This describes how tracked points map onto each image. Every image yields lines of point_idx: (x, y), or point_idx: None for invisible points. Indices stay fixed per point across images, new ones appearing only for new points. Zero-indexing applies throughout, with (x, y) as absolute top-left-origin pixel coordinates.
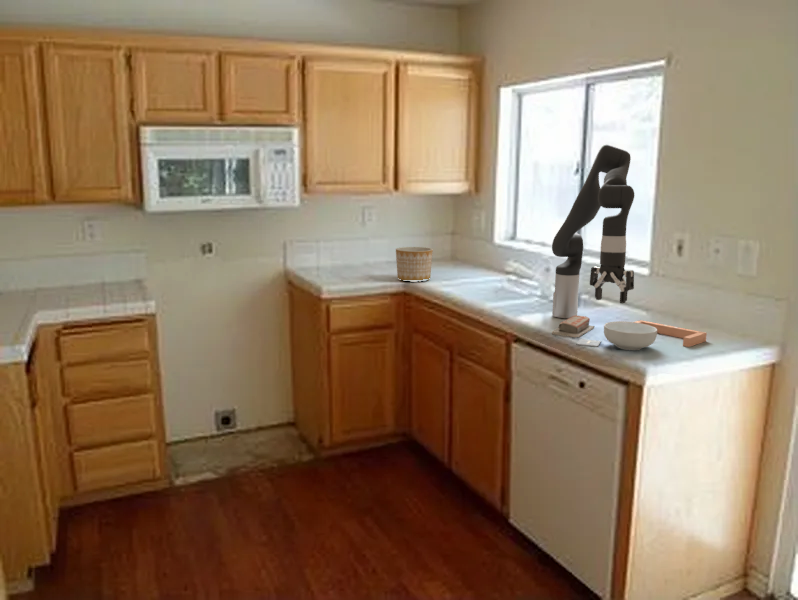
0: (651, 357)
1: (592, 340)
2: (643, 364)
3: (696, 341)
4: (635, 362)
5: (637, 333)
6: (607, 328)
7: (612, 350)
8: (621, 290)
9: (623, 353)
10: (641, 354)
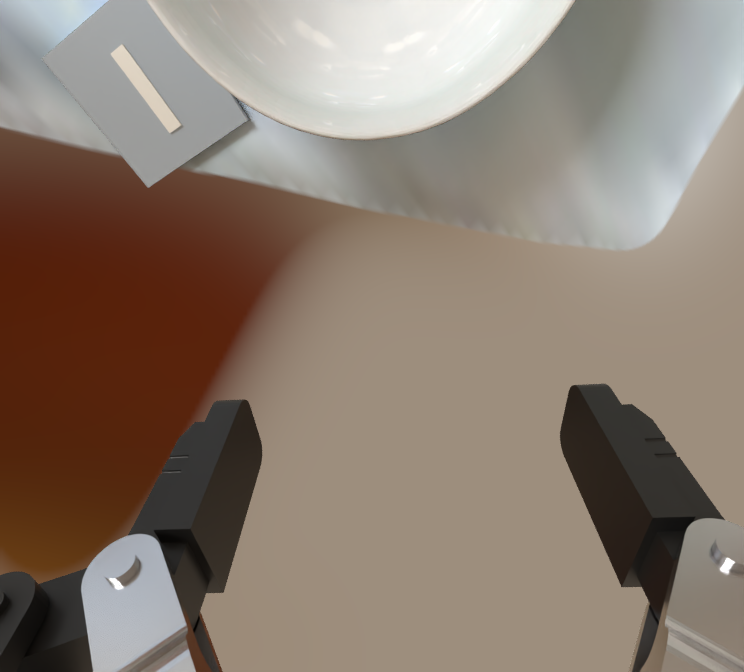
0: (611, 27)
1: (110, 16)
2: (621, 210)
3: None
4: (573, 213)
5: (543, 43)
6: (277, 121)
7: None
8: (656, 613)
9: None
10: None
